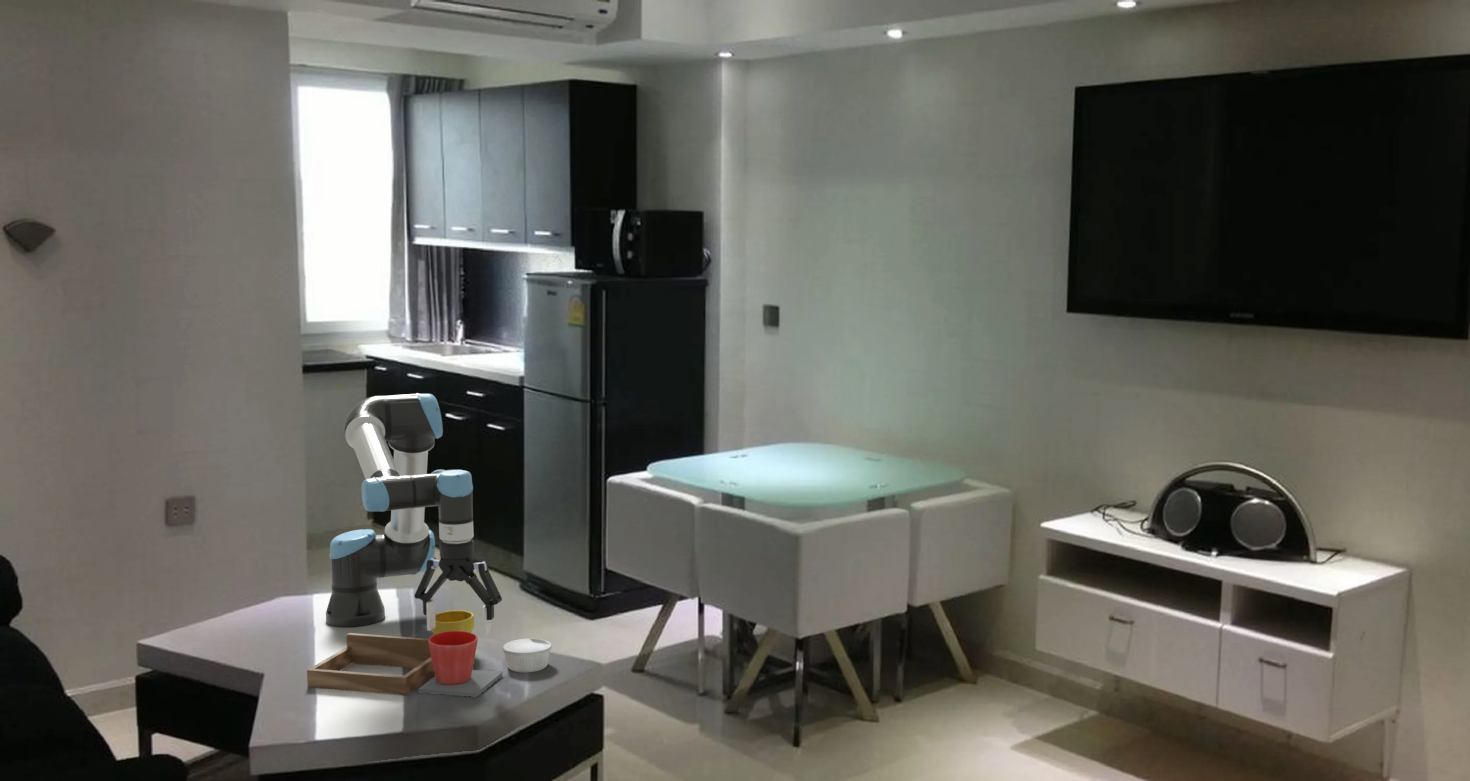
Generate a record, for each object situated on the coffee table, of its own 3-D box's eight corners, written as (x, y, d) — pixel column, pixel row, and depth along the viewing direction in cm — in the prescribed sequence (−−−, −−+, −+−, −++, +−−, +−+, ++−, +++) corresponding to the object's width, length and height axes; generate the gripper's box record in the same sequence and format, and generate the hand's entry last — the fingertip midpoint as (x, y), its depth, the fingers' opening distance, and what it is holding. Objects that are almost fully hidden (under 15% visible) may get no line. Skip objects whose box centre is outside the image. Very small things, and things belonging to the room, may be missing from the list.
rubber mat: (446, 671, 295) (446, 667, 295) (502, 676, 292) (502, 672, 292) (418, 692, 282) (418, 688, 282) (476, 697, 278) (476, 692, 278)
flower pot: (466, 689, 281) (466, 646, 280) (420, 684, 283) (420, 642, 282) (485, 673, 291) (485, 632, 290) (440, 669, 293) (440, 628, 292)
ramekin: (561, 663, 301) (560, 642, 301) (531, 677, 292) (531, 655, 291) (524, 656, 307) (523, 635, 306) (494, 669, 297) (493, 647, 296)
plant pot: (422, 658, 305) (421, 618, 304) (449, 645, 315) (448, 607, 313) (457, 663, 301) (456, 624, 300) (483, 651, 310) (482, 612, 309)
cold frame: (350, 661, 303) (349, 632, 303) (443, 668, 298) (442, 639, 297) (307, 687, 286) (306, 657, 285) (406, 695, 280) (405, 664, 279)
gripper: (397, 540, 282) (400, 631, 285) (501, 547, 277) (503, 640, 279) (413, 532, 289) (416, 621, 292) (515, 538, 284) (517, 629, 287)
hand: (458, 631), depth 286 cm, fingers open, 13 cm apart
